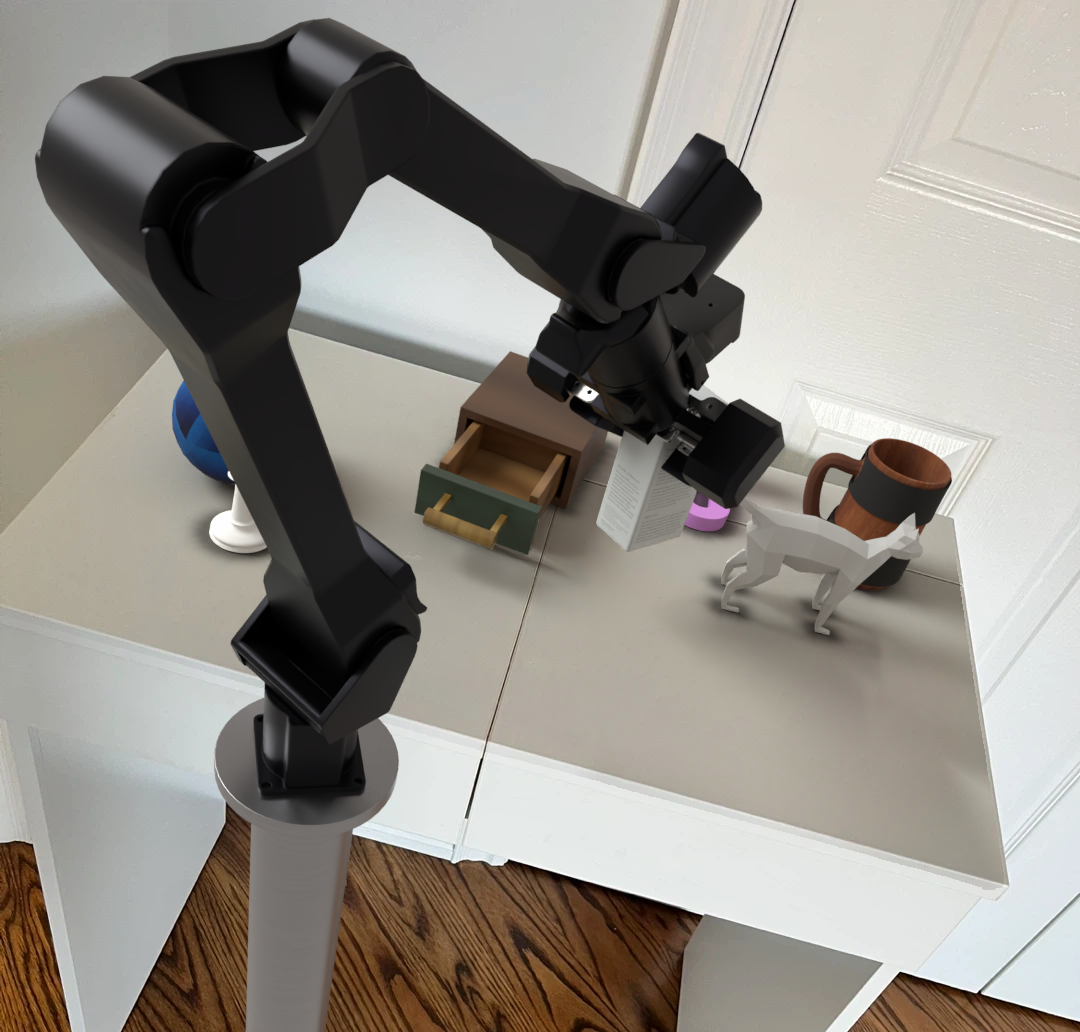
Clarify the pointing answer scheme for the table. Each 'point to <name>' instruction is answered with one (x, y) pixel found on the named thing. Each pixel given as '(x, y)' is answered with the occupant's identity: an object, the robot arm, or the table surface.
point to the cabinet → (534, 420)
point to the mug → (882, 495)
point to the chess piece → (236, 528)
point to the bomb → (196, 437)
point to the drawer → (491, 488)
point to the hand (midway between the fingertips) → (672, 455)
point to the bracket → (707, 517)
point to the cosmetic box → (646, 492)
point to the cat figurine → (812, 554)
